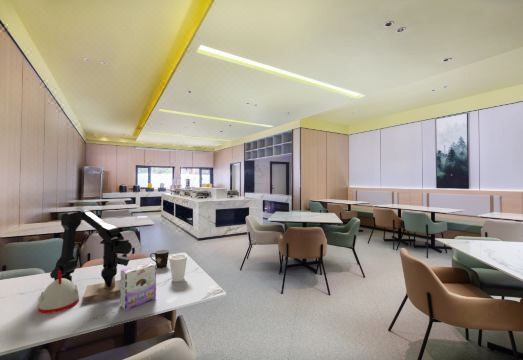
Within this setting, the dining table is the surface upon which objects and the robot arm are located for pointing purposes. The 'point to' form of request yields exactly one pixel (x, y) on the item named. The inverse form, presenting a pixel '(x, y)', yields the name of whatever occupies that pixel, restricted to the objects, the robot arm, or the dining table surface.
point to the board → (101, 292)
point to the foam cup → (178, 267)
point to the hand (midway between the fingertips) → (109, 283)
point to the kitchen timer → (58, 296)
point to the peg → (111, 284)
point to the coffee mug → (161, 258)
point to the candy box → (137, 285)
